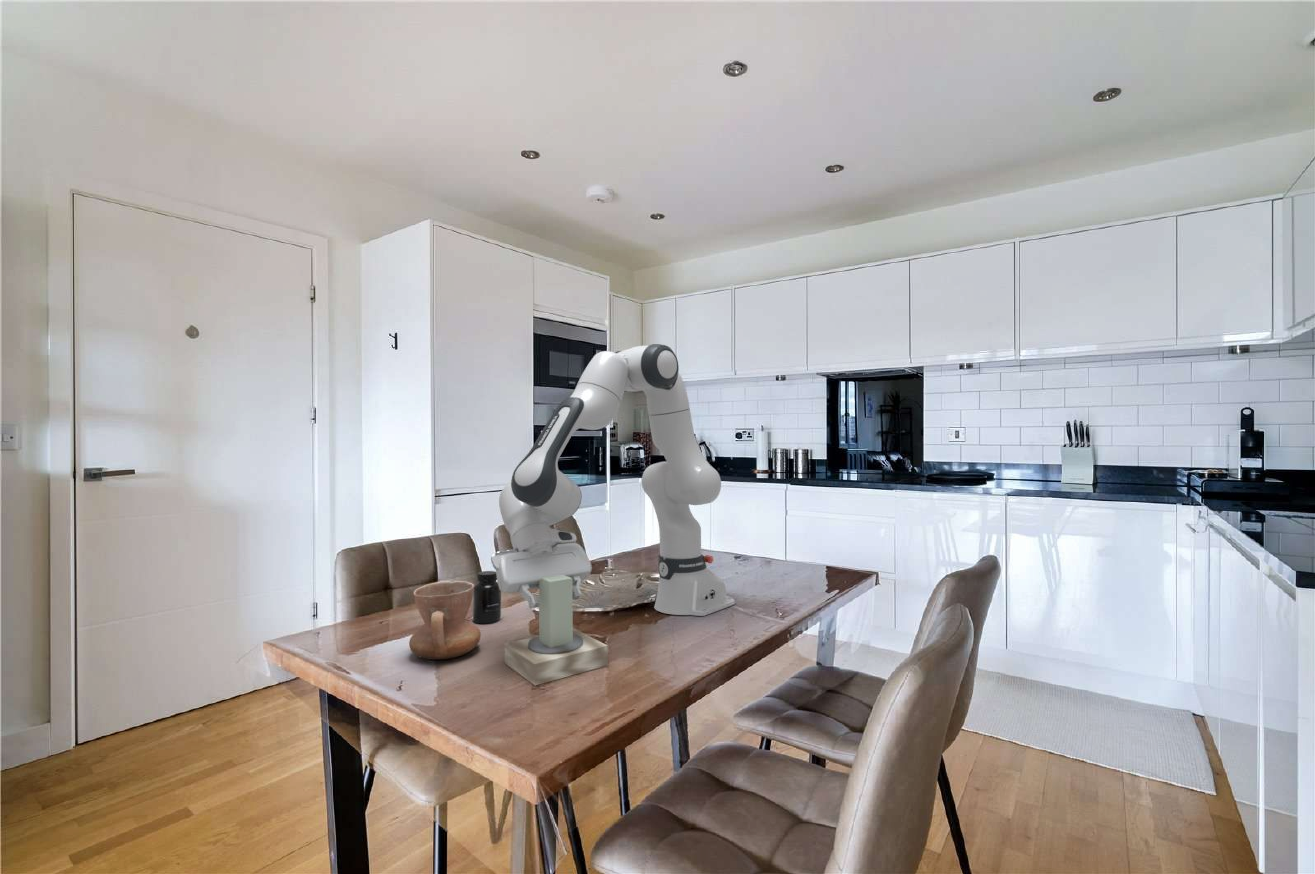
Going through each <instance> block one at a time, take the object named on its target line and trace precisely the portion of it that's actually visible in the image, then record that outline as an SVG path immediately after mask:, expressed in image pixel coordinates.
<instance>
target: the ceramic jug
mask: <svg viewBox="0 0 1315 874" xmlns="http://www.w3.org/2000/svg"><path fill="white" fill-rule="evenodd" d="M474 586H475V584H473V583H472V582H470V581H465V580H454V581H453V582H452V581H450V580H445V581H443V580H442V581H438V582H437V581H435V582H432V583H428V584H424V585H423V586H420V587H418V588H416V589H415V590H414V591H413V598H414V602H415V605H416V607H417V610H418V612H419V615H420V616H421V619H422V621H423V622H424V624H423V625H422V626H421V627H420V628H418V629H417V630H415V632H414V633H413V634H411V636H410V638H409V642H408V644H409V649H410V651H411V652H412V653H413V654H414V655H415V656H417V657H419V658H423V659H428V660H448V659H453V658H456V657H461V656H463V655H466V654H467V653H469V652H471V651H472V650H473V649H475V648H476V647H477V646H478V644H479V642H480V639H481V637H482V635H481V631H480V628H479V626H478V625H476V624H475V623H474V622H472V621H470V620H468V619H466V617H467V615H468V612H469V610H470V607H471V604H472V602H473V592H474Z"/></svg>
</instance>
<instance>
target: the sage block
mask: <svg viewBox="0 0 1315 874" xmlns="http://www.w3.org/2000/svg"><path fill="white" fill-rule="evenodd" d="M572 589H573V586H572V578H570V577H568V576H565V575H557V576H551V577H545V578H541V581H539V588H538V599H539V601H540V604H539V605H538V636H539V641H540V642H542V643H544V644H545V645H547V646H549V647H550V648H551V647H555V646H559V645H563V644H568V643H572V642H573V628H574V623H573V620H574V619H573V616H574V615H573V611H574V610H573V599H572Z"/></svg>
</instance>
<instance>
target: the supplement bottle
mask: <svg viewBox="0 0 1315 874" xmlns="http://www.w3.org/2000/svg"><path fill="white" fill-rule="evenodd" d="M476 575H477V576H476V577H477V578H476V581H477V583H476V584H474V592H473V597H472V621H473V623H476V624H481V625H485V624H486V625H487V624H493V623H497V622H498V621H500V620H501V617H502V591H500V589H499V586H498V582H497V576H496V570H486V571H480V572H477V574H476Z"/></svg>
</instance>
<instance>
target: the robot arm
mask: <svg viewBox="0 0 1315 874" xmlns="http://www.w3.org/2000/svg"><path fill="white" fill-rule="evenodd" d="M679 367H680V366H679V360H678V358H677V356H676V354H675V351H674V350H673V349H672V348H671V347H670V346H668V345H667V344H666V345H665V344H661V343H660V344H659V343H658V344H657V343H653V344H648V345H647V344H646V345H637V346H633V347H630V348H628V349H623V350H618V351H615V352H614V351H609V350H604V351H600V352H598V353H596V354H594V355H593V357H592V358H591V360H590V361H589V362H588V364H587V366H586V367H585V368H584V371H583V372H582V373H581V376H580V377H579V380H578V382H577V384H576V386H575V388H574V390H573V392H572V394H571V395H570V396H569V397H566V398H564V399H563V400H562V401H561V402H560V403H559V404H558V406H556V408H555V409H554V411H553V413H551V416H550V417H549V419H548V421H547V423H545V426H544V427H543V429H542V431H541V432H540V434H539V436H538V437H537V439H536V440H535V442H534V444H533V446H532V447H531V448H530V450H529V452H527V454H526V456H524V458H523V459H522V460H521V461H520V462H519V464H517V465H516V467H515V469H514V470H513V473H512V476H511V481H510V483H508V484H507V485H505V487H503V488H502V490H501V492H500V494H499V497H498V504H499V506H498V507H499V510H500V515H501V518H502V521H503V524H504V527H505V529H506V530H507V532H508V533H509V536H510V543H511V546H512V548H511V549H505V550H498V551H495V553H493V554H492V556H491V557H490V560H491V561H490V563H491V564H492V567H493V569H494V570H495V572H496V576H497V580H496V582H498V586H499V589H500V591H501V593H503V594H505V595H507V594H512V593H517V592H519V596H520V597H522V598H523V599H524V600H525V601H526V602H527V603H528V605H529V608H531V609H534V608H539V604H540V601H539V594H538V595H534V594H533V593H531V592H530V590H534V589H539V581H541V578H545V577H551V576H557V575H565V576H568V577H570V578H572V587H573V588H572V601H575V600H580V598H581V597H582V591H581V589H580V585H581V581H585V580H587V579H588V578H589V576H590V574H591V573H592V570H593V567H592V566H593V565H592V563H591V561H590V558H589V557H588V555H587V553H586V551H585V549H584V548H583V547H582V546H581V545H580V544H579V543H577V542H576V541H577V535H576V534H575V533H574V532H568V531H564V530H558V529H555V528H551V527H552V526H554V525H556V524H559V523H561V522H563V521H566V520H567V519H569V518H570V517H572V516H573V515H574V514H576V512H577V511H578V510H579V508H580V505H581V502H582V491H581V488H580V486H579V485H578V484H577V483H576V482H574V481H573V480H572V479H571V478H570V477H568V476H567V475H566V474H565V473H563V472H562V471H561V470H560V469H559V465H558V462H559V459H560V457H561V455H562V453H563V452H564V450H565V448H566V446H567V444H568V443H569V441H570V439H571V437H573V436H572V435H574V433H575V432H576V431H577V430H579V429H582V430H588V431H589V430H590V431H596V430H601V429H603V428H606V427H607V426H609V425H610V424H611V422H612V421H613V419H614V418H615V417H616V414H617V413H618V410H619V407H620V405H621V403H622V400H623V396H624V394H625V393H626V392H643V394H644V395H645V396H646V406H647V414H648V421H649V426H650V433H651V434H650V435H651V439H652V443H653V445H654V446H655V447H656V448H657V449H658V450H659V451H660V452H661V453H662V455H663V456H664V459H665V461H659V462H656V463H653V464H650V465H649V466H647V467H646V468H645V470H644V471H643V473H642V475H641V477H642V478H641V485H642V489H643V491H644V493H645V494H646V495H647V497H648V498H649V499H650V500H651V501H650V502H651V503H652V505H653V509H654V511H655V515H656V519H657V522H658V529H659V555H658V561H657V562H658V563H657V564H658V566H657V567H658V574H659V576H658V579H659V580H658V585H657V587H658V588H657V593H656V598H655V604H654V607H653V608H654V609H655V611H657V612H660V613H663V614H668V615H674V616H698V617H699V616H700V617H703V616H708V615H710V614H712V613H715V612H718V611H720V610H723V609H726V608H729V607H731V606H733V605H735V604H736V602H735V599H734V598H732V597H730V596H729V595H727V589H726V585H725V582H724V581H723V580H722V578H720V577H719V576H718V575H716V574H715V573H714V572H713V571H711V570H710V569H709V568H707V564H706V563H708V564H712V563H713V562H714V557H713V556H712V555H708V554H706V555H703V554H702V528H701V525H700V523H699V521H698V520H697V519H696V518H695V517H694V515H693V513H692V510H691V509H690V506H702V505H707V504H711V503H713V502H714V501H715V500H716V499H717V498H718V496H719V495H720V493H721V488H722V481H721V477H720V476H721V475H720V473H719V472H718V471H717V470H716V469H715V468H714V467H713V466H712V465H711V464H710V463H709V462H708V460H707V459H706V457H705V456H704V454H703V452H702V449H701V448H700V447H699V444H698V442H697V438H696V437H695V433H694V425H693V421H692V414H691V413H692V412H691V407H690V402H689V397H688V393H687V390H686V386H685V383H684V381H683V378H682V375H681V374H680V373H679V370H680V369H679ZM689 505H690V506H689Z"/></svg>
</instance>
